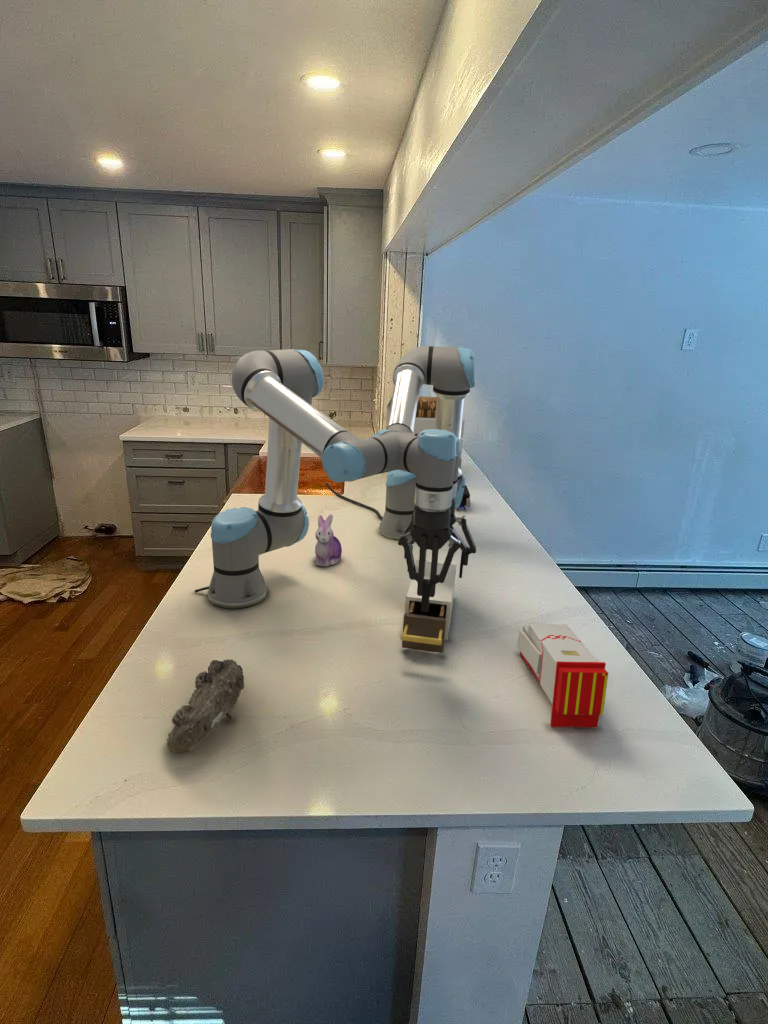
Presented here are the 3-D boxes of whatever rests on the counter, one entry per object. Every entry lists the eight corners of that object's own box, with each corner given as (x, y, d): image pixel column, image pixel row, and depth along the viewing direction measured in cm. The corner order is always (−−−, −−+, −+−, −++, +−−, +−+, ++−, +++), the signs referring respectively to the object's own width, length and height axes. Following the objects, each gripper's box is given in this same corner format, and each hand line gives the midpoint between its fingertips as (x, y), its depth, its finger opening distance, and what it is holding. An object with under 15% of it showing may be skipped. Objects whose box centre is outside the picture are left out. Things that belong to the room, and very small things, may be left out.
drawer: (440, 668, 124) (443, 634, 122) (397, 662, 126) (399, 628, 123) (449, 610, 148) (451, 581, 145) (413, 606, 150) (415, 577, 147)
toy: (562, 608, 134) (617, 669, 105) (557, 660, 137) (609, 734, 107) (511, 607, 134) (552, 667, 104) (507, 659, 136) (545, 733, 107)
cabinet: (447, 640, 137) (451, 602, 133) (403, 634, 138) (405, 596, 135) (453, 599, 156) (456, 564, 153) (414, 594, 158) (417, 560, 154)
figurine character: (470, 515, 225) (465, 499, 238) (472, 498, 221) (467, 483, 235) (453, 515, 224) (449, 499, 238) (455, 497, 221) (451, 482, 234)
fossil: (192, 660, 117) (244, 628, 112) (224, 691, 120) (276, 661, 115) (142, 746, 98) (202, 712, 93) (182, 779, 101) (242, 748, 96)
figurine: (319, 569, 170) (319, 523, 165) (307, 556, 178) (307, 511, 173) (348, 564, 174) (349, 519, 169) (335, 552, 182) (336, 508, 177)
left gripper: (398, 509, 113) (392, 613, 121) (464, 515, 111) (453, 621, 119) (403, 498, 120) (397, 597, 128) (465, 503, 118) (455, 604, 126)
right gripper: (389, 497, 141) (386, 573, 148) (491, 506, 137) (482, 584, 145) (394, 487, 148) (390, 561, 155) (491, 496, 144) (482, 571, 152)
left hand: (424, 608), depth 123 cm, fingers closed
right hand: (434, 572), depth 150 cm, fingers open, 13 cm apart
